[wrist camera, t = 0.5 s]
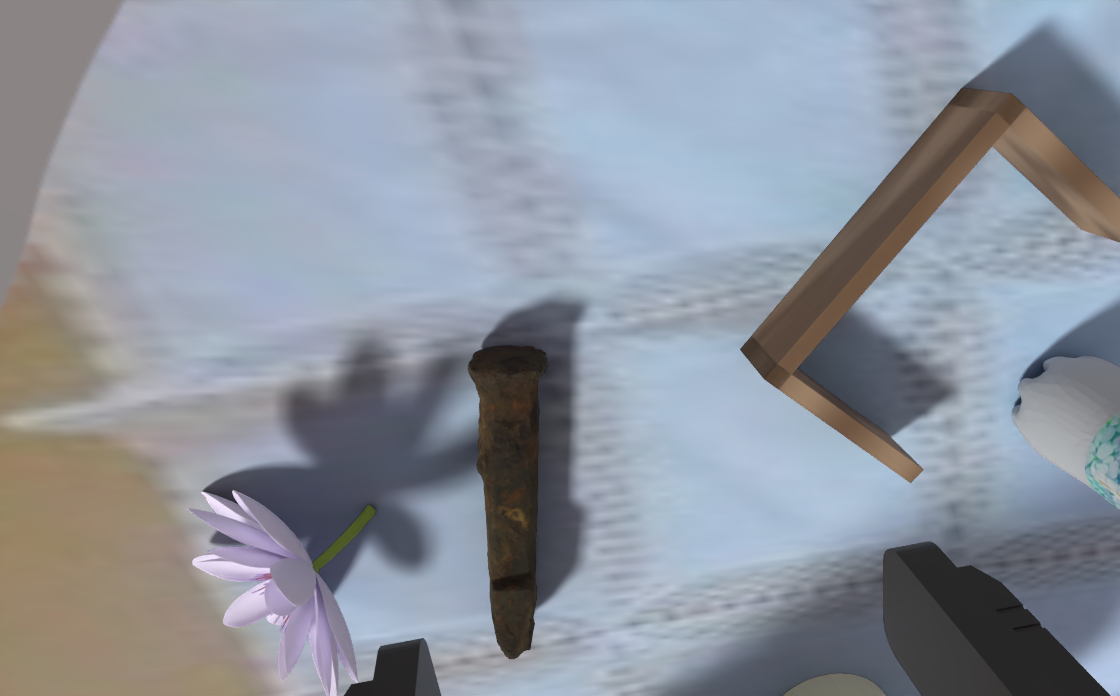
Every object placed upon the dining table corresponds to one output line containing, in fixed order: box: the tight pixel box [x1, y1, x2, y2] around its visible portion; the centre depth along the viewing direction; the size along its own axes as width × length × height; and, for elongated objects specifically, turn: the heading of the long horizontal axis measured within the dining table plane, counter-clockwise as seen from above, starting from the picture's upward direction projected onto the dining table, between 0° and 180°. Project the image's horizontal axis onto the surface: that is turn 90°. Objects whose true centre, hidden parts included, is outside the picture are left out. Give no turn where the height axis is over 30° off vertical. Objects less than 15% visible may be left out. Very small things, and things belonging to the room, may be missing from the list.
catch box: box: [740, 88, 1120, 483], centre depth 41 cm, size 11×17×4 cm, turn 143°
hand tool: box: [468, 346, 547, 659], centre depth 44 cm, size 19×4×5 cm, turn 177°
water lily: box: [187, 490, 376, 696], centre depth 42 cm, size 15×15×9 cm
